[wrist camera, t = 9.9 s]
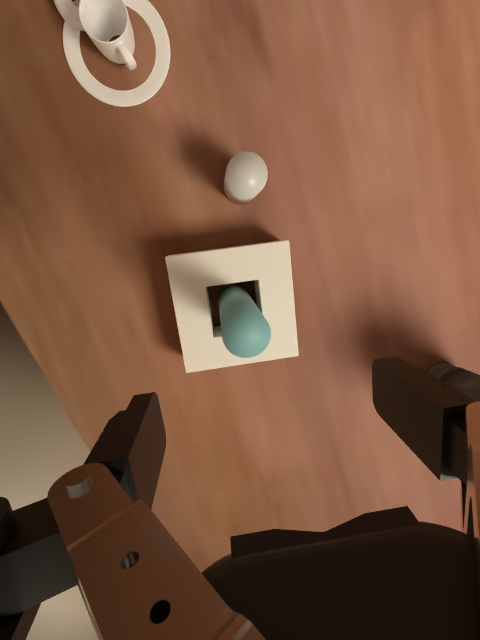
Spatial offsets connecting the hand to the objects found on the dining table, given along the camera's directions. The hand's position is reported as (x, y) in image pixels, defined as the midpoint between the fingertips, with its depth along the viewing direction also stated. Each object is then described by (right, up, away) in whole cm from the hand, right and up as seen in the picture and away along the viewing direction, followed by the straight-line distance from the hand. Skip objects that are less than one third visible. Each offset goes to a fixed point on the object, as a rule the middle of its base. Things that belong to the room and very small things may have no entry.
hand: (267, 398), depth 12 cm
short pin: (-1, +15, +16) cm, 22 cm away
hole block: (-2, +5, +18) cm, 19 cm away
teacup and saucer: (-9, +27, +13) cm, 31 cm away
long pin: (-2, +5, +18) cm, 19 cm away
